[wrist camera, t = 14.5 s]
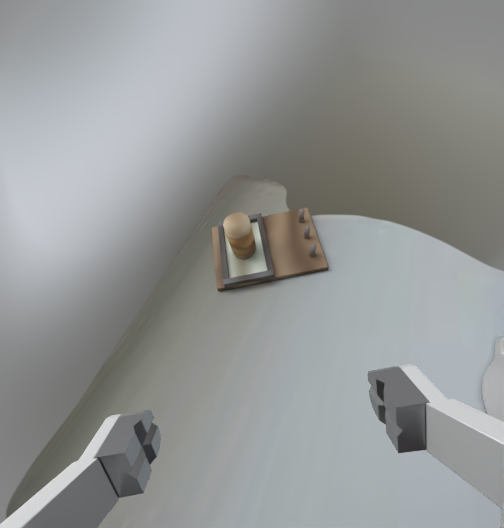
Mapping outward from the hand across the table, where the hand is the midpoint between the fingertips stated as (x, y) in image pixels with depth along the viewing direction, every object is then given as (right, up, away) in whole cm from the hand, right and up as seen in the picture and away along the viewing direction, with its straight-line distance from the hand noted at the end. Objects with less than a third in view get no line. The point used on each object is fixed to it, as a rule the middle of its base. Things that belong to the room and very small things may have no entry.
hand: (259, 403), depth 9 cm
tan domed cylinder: (-2, +8, +37) cm, 38 cm away
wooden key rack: (+2, +8, +38) cm, 39 cm away
